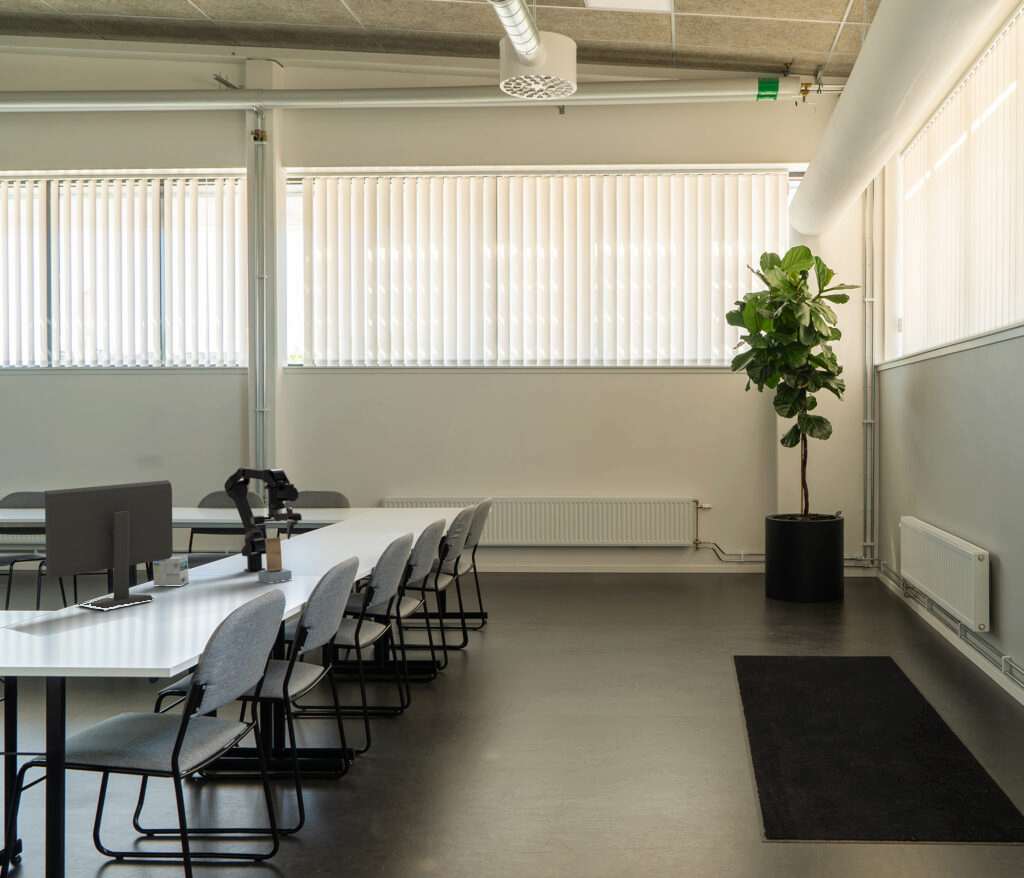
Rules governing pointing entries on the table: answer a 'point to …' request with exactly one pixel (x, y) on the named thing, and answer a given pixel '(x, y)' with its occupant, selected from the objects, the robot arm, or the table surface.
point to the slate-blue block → (274, 575)
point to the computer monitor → (108, 532)
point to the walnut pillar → (273, 554)
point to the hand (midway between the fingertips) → (277, 540)
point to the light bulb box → (171, 571)
